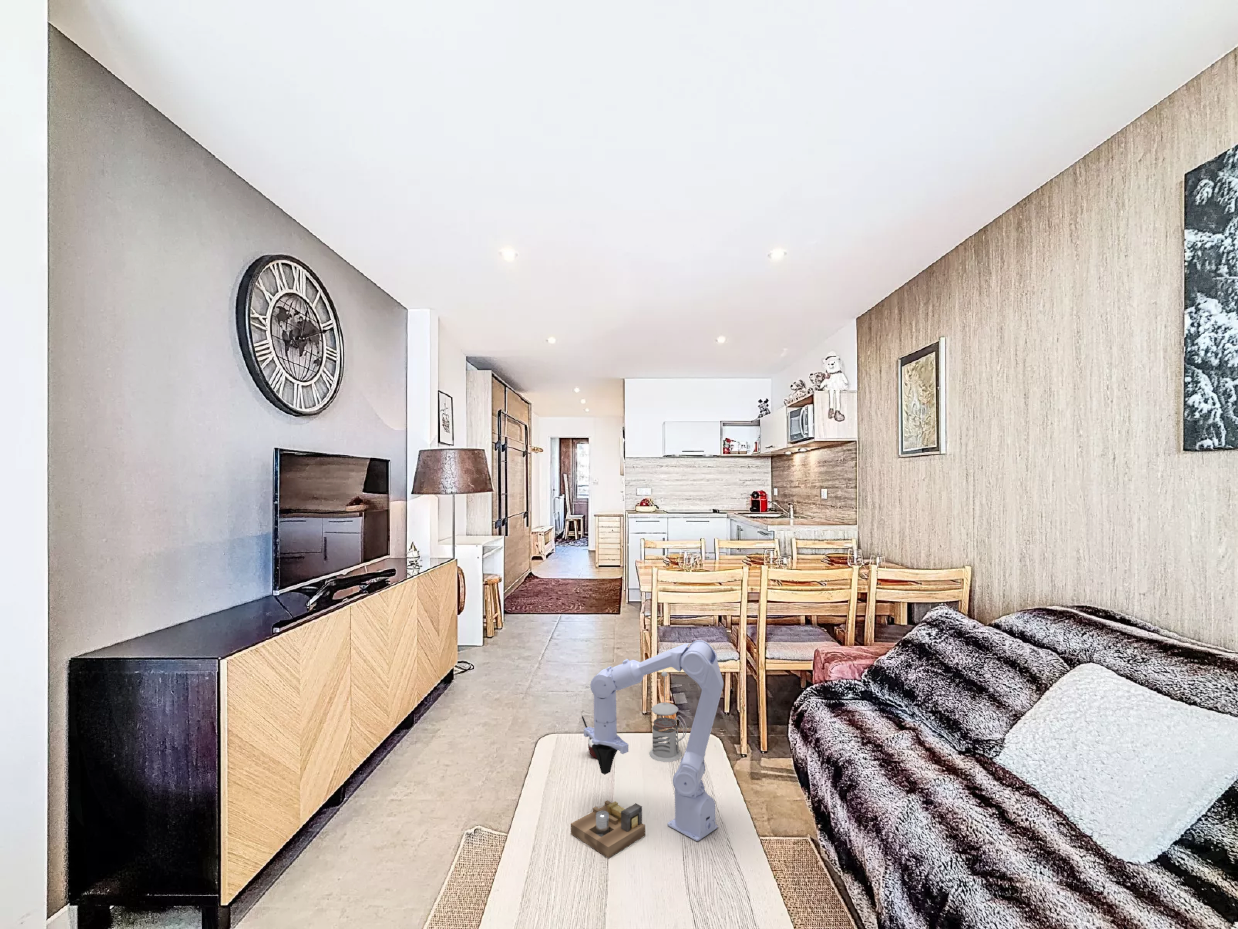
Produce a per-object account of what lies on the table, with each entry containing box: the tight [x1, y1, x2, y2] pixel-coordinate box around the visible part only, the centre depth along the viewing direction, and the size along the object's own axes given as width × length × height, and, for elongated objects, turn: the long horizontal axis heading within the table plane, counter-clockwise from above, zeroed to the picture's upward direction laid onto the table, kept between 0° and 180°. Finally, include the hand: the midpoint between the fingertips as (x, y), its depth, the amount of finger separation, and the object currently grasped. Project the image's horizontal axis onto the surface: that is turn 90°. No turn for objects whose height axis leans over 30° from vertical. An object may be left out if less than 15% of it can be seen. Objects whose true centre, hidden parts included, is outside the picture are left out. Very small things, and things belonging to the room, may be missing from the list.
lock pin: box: [607, 800, 638, 829], centre depth 150 cm, size 8×3×3 cm, turn 44°
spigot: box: [596, 811, 609, 837], centre depth 147 cm, size 3×3×6 cm
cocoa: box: [581, 716, 597, 759], centre depth 189 cm, size 10×6×12 cm, turn 82°
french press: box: [648, 671, 687, 763], centre depth 188 cm, size 10×12×25 cm
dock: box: [570, 800, 646, 859], centre depth 148 cm, size 13×12×6 cm
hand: (605, 772), depth 158 cm, fingers closed
